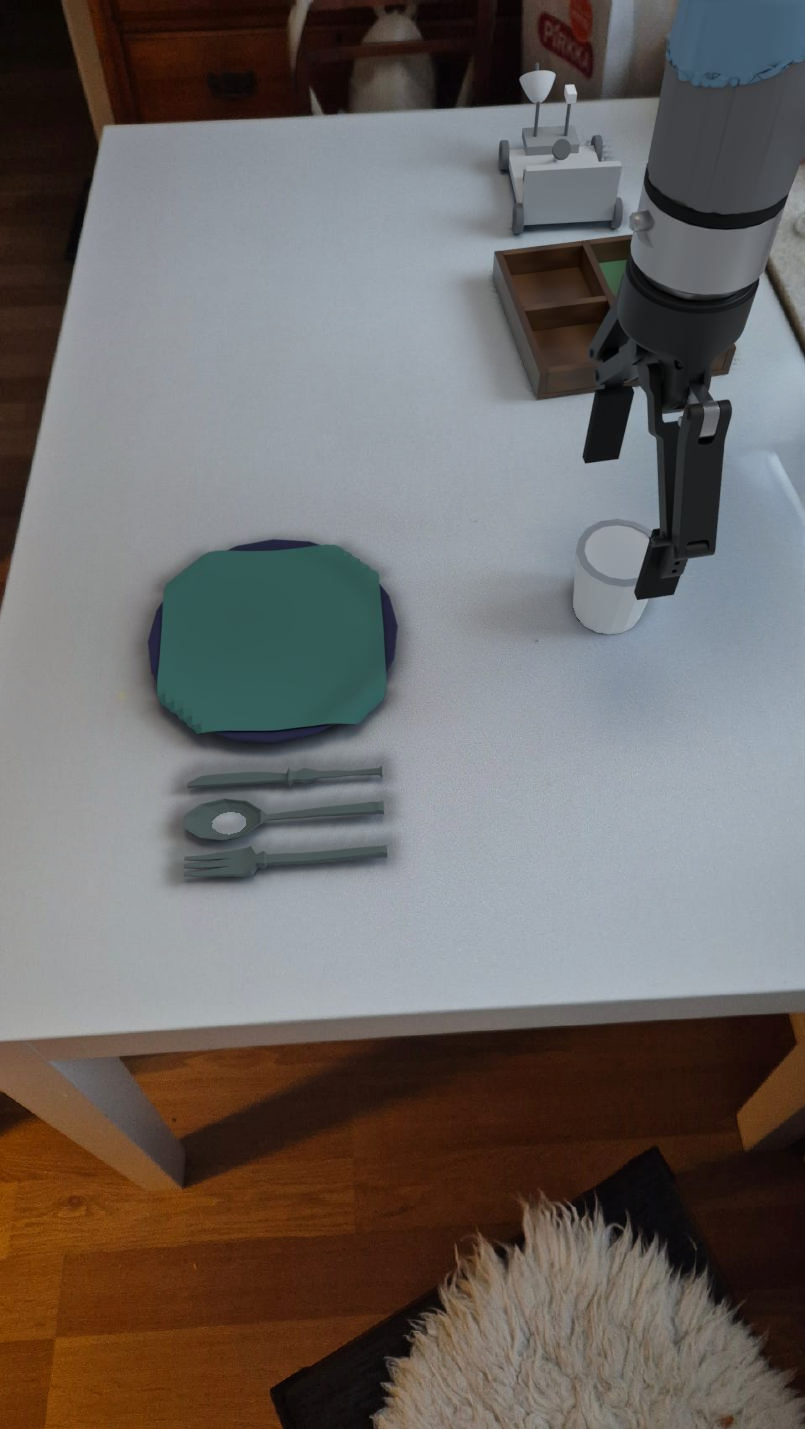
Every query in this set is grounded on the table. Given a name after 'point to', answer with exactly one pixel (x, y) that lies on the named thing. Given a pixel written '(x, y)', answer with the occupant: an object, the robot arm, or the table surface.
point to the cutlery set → (272, 671)
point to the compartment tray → (565, 309)
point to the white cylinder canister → (609, 575)
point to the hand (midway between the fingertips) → (625, 523)
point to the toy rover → (559, 169)
